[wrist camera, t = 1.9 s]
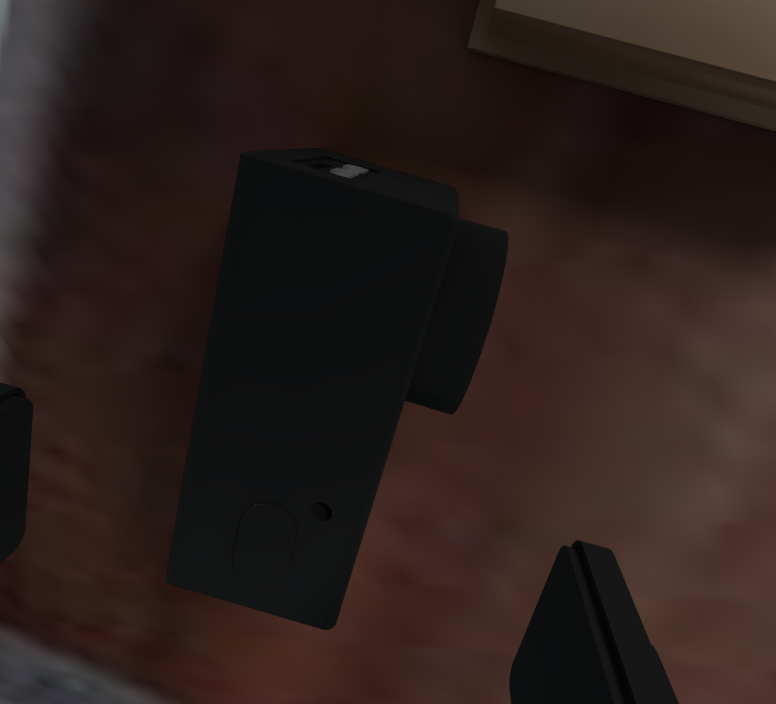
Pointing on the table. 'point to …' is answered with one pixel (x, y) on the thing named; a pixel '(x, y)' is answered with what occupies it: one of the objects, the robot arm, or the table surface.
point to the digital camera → (321, 369)
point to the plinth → (646, 48)
